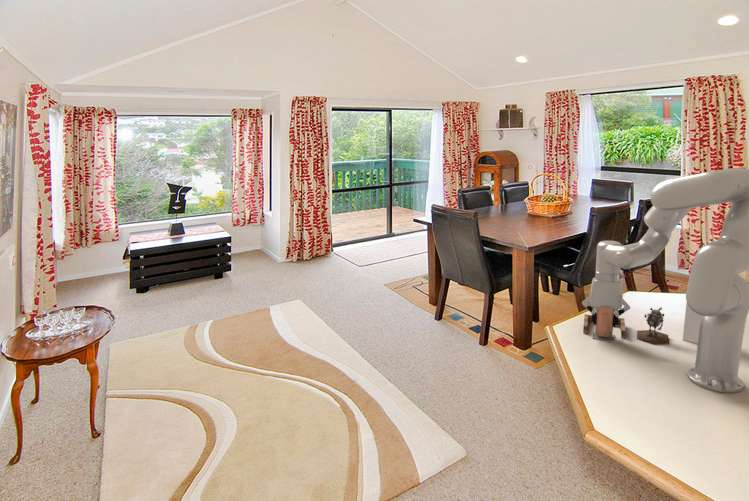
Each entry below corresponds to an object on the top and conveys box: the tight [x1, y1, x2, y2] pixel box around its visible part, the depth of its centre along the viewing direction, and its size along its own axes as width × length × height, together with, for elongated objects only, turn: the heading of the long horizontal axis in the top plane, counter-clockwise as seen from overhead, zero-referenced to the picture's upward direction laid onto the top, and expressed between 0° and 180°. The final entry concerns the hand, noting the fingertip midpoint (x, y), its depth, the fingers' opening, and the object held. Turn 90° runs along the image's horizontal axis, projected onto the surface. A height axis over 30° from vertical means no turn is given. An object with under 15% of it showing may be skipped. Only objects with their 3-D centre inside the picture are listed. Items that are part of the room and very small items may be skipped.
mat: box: [592, 332, 616, 342], centre depth 153 cm, size 5×7×1 cm
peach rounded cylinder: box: [594, 306, 614, 337], centre depth 151 cm, size 6×8×11 cm
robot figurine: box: [636, 306, 670, 345], centre depth 149 cm, size 11×9×12 cm
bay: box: [582, 314, 627, 339], centre depth 159 cm, size 12×13×3 cm
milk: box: [682, 301, 702, 345], centre depth 144 cm, size 6×6×22 cm
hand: (604, 324), depth 152 cm, fingers closed on peach rounded cylinder, 5 cm apart
